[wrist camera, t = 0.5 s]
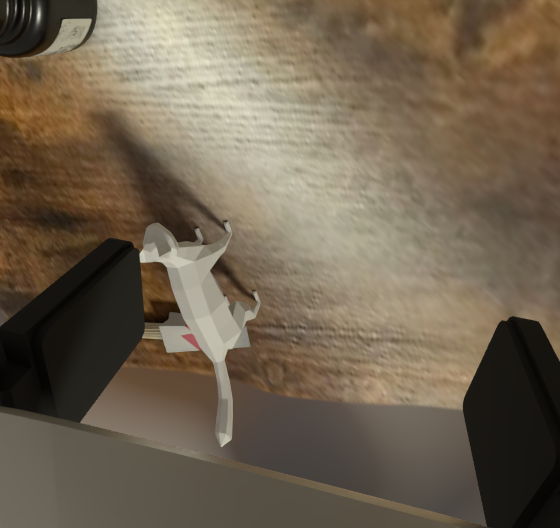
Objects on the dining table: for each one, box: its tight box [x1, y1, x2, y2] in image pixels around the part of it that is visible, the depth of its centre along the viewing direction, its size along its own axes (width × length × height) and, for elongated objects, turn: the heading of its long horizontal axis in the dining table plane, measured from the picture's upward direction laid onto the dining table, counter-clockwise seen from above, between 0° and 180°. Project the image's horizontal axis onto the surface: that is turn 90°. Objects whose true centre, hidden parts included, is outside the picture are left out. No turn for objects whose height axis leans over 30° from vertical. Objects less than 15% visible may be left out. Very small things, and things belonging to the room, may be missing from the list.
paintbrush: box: [142, 312, 250, 353], centre depth 50 cm, size 4×3×20 cm
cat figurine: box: [140, 222, 261, 447], centre depth 40 cm, size 4×20×14 cm, turn 18°
